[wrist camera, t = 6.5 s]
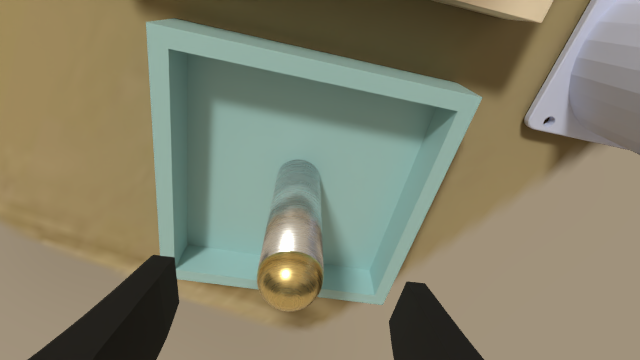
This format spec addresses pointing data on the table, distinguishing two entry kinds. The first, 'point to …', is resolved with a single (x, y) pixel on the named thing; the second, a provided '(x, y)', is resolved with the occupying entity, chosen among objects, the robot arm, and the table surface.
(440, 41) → the table surface
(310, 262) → the pin
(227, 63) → the tray
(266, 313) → the table surface
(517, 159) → the table surface
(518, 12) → the beige slotted block
